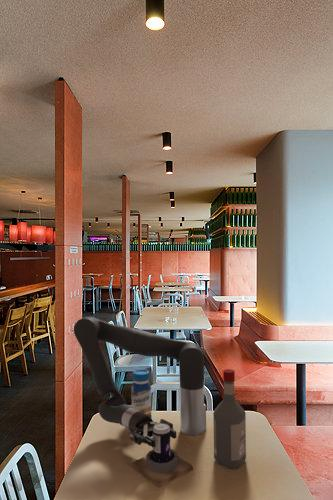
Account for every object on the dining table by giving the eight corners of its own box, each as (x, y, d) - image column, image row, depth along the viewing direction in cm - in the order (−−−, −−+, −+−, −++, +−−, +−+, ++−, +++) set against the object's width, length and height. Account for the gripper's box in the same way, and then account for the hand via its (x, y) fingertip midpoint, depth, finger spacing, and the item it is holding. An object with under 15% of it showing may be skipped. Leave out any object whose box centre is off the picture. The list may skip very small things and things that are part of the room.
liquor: (248, 458, 132) (247, 369, 132) (237, 471, 124) (235, 377, 124) (223, 450, 137) (222, 365, 137) (211, 463, 129) (210, 372, 129)
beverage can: (168, 469, 124) (168, 431, 123) (151, 467, 125) (150, 429, 125) (172, 459, 129) (171, 423, 129) (155, 458, 130) (154, 421, 130)
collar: (164, 452, 134) (164, 444, 134) (184, 464, 126) (183, 457, 126) (140, 462, 128) (140, 454, 128) (159, 476, 120) (159, 468, 120)
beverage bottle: (153, 416, 166) (152, 368, 165) (150, 425, 157) (149, 375, 157) (134, 415, 167) (133, 368, 167) (129, 424, 158) (128, 374, 158)
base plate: (165, 452, 137) (165, 447, 137) (192, 469, 126) (192, 465, 126) (132, 466, 128) (131, 462, 128) (158, 487, 117) (158, 482, 117)
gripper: (119, 417, 133) (147, 435, 121) (152, 406, 142) (182, 421, 130) (119, 439, 134) (147, 459, 121) (153, 426, 142) (182, 444, 130)
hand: (165, 439), depth 125 cm, fingers open, 8 cm apart
